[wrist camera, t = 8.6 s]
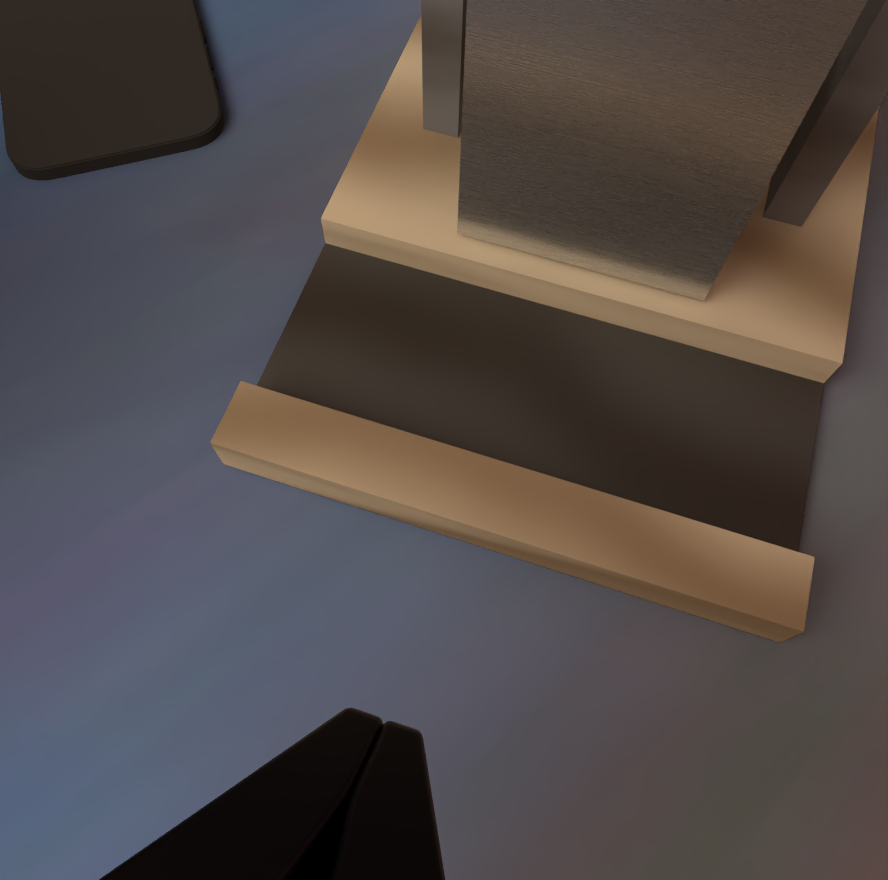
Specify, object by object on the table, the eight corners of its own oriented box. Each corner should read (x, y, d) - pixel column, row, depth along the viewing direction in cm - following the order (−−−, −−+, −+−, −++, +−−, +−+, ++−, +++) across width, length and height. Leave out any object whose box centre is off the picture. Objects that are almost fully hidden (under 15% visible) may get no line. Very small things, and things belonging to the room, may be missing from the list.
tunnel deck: (779, 642, 21) (1202, 453, 10) (223, 464, 23) (10, 124, 11) (884, -32, 32) (1139, -502, 20) (501, -116, 34) (537, -590, 22)
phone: (162, -129, 33) (228, 129, 28) (168, -108, 34) (234, 147, 28) (-21, -98, 33) (6, 176, 27) (-10, -77, 33) (18, 194, 27)
